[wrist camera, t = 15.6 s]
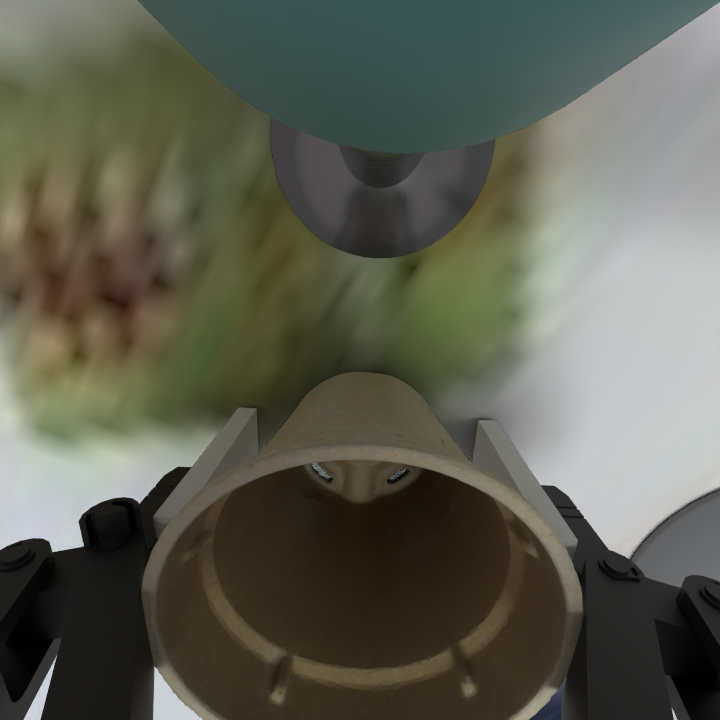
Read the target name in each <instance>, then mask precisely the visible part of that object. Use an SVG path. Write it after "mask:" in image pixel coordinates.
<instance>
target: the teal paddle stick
mask: <svg viewBox="0 0 720 720" xmlns="http://www.w3.org/2000/svg"><path fill="white" fill-rule="evenodd" d="M138 1H139V2H140V3H141V4H142V5H143V6H144V7H145V8H146V9H147V10H148V11H149V12H150V13H151V14H152V15H153V16H154V17H155V18H156V19H157V20H158V21H159V22H160V23H161V24H162V25H163V26H164V27H165V28H166V29H167V30H168V31H169V32H170V33H171V34H172V35H173V36H174V37H175V38H176V39H177V40H178V41H179V42H180V43H181V44H182V45H183V46H184V47H185V48H186V49H187V50H188V51H189V52H190V53H191V54H192V55H193V56H194V57H195V58H196V59H197V60H198V61H199V62H200V63H201V64H202V65H203V66H204V67H206V68H207V69H208V70H209V71H210V72H211V73H212V74H213V75H214V76H215V77H216V78H217V79H218V80H219V81H220V82H221V83H223V84H224V85H225V86H227V87H228V88H229V89H231V90H232V91H234V92H235V93H236V94H238V95H239V96H240V97H242V98H243V99H244V100H246V101H247V102H249V103H250V104H251V105H253V106H254V107H255V108H257V109H259V110H260V111H262V112H264V113H266V114H268V115H270V116H271V117H273V118H275V119H277V120H279V121H280V122H282V123H284V124H286V125H288V126H290V127H291V128H293V129H296V130H299V131H301V132H304V133H307V134H309V135H312V136H315V137H317V138H320V139H322V140H325V141H328V142H331V143H335V144H340V145H344V146H349V147H353V148H358V149H362V150H367V151H377V152H391V153H405V154H409V153H422V152H435V151H447V150H452V149H456V148H461V147H465V146H470V145H474V144H479V143H483V142H487V141H490V140H492V139H495V138H498V137H501V136H503V135H506V134H509V133H511V132H514V131H517V130H519V129H522V128H525V127H527V126H529V125H531V124H533V123H535V122H536V121H538V120H540V119H542V118H544V117H546V116H548V115H550V114H552V113H554V112H556V111H557V110H559V109H561V108H563V107H565V106H566V105H568V104H569V103H571V102H572V101H574V100H575V99H577V98H578V97H580V96H581V95H583V94H584V93H586V92H587V91H589V90H590V89H592V88H593V87H595V86H596V85H597V84H599V83H600V82H602V81H603V80H605V79H606V78H608V77H609V76H611V75H612V74H614V73H615V72H617V71H618V70H620V69H621V68H623V67H624V66H626V65H627V64H629V63H630V62H632V61H633V60H635V59H636V58H637V57H639V56H640V55H642V54H643V53H645V52H646V51H648V50H649V49H651V48H652V47H654V46H655V45H657V44H658V43H660V42H661V41H663V40H664V39H666V38H667V37H669V36H670V35H672V34H673V33H674V32H676V31H677V30H679V29H680V28H682V27H683V26H685V25H686V24H688V23H689V22H691V21H692V20H694V19H695V18H697V17H698V16H700V15H701V14H703V13H704V12H706V11H707V10H709V9H710V8H712V7H713V6H714V5H716V4H717V3H719V2H720V0H138Z"/></svg>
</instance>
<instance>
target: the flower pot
mask: <svg viewBox="0 0 720 720" xmlns="http://www.w3.org/2000/svg"><path fill="white" fill-rule="evenodd" d="M311 463H317V464H318V465H319V466H320V467H321V468H322V469H323V470H324V471H325V472H326V473H327V474H328V475H329V476H330V477H332V478H333V480H332V481H328V480H326V479H323V478H321V477H320V476H319V475H318V474H317V473H316V472H314V470H313V469H312V466H311ZM404 468H405V469H408V470H409V472H408V473H407V474H406V475H404V476H403V477H402V478H400V479H399V480H398V481H395V482H393V483H388V482H387V480H388V479H390V478H391V477H392V476H393V475H394V474H395V473H394V472H395V471H396V472H399V471H401V470H403V469H404ZM141 597H142V603H143V609H144V614H145V620H146V626H147V631H148V637H149V643H150V648H151V654H152V659H153V662H154V666H155V667H156V668H157V669H158V671H159V673H160V674H161V675H162V677H163V679H164V680H165V681H166V683H167V684H168V685H169V686H170V688H171V689H172V691H173V693H175V694H176V695H177V697H178V699H180V700H181V701H182V702H183V703H184V704H185V706H188V707H189V708H190V709H191V710H193V711H194V712H195V713H196V714H197V715H198V716H199V717H201V718H203V720H529V719H530V718H531V717H532V716H534V715H535V714H536V713H537V712H538V711H539V710H540V709H541V708H542V707H543V706H544V705H545V704H546V703H548V702H549V701H550V698H551V696H552V695H553V694H555V693H556V691H557V690H558V689H559V687H560V686H561V684H562V682H563V680H564V679H565V677H567V674H568V670H569V667H570V664H571V661H572V657H573V654H574V651H575V648H576V644H577V641H578V637H579V634H580V631H581V627H582V623H583V601H582V591H581V586H580V583H579V579H578V576H577V573H576V571H575V569H574V565H573V562H572V560H571V559H570V557H569V555H568V552H567V550H566V548H565V546H564V545H563V543H562V542H561V540H560V539H559V537H558V536H557V534H556V533H555V531H554V530H553V529H552V527H551V526H550V525H549V523H548V522H547V521H546V519H545V518H544V517H543V516H542V514H541V513H540V512H539V511H538V510H537V509H536V508H535V507H534V506H533V505H532V504H531V503H530V502H529V501H528V500H527V499H526V498H525V497H523V496H522V495H521V494H520V493H519V492H517V491H516V490H515V489H514V488H512V487H511V486H509V485H508V484H506V483H505V482H503V481H502V480H501V479H499V478H497V477H496V476H494V475H493V474H491V473H489V472H488V471H486V470H484V469H482V468H480V467H479V466H477V465H475V464H474V463H472V462H471V461H470V460H468V459H467V457H466V456H465V455H464V453H463V452H462V451H461V449H460V448H459V447H458V445H457V444H456V443H455V441H454V440H453V439H452V437H451V436H450V435H449V434H448V432H447V431H446V430H445V428H444V427H443V425H442V424H441V423H440V421H439V420H438V418H437V417H436V416H435V414H434V413H433V411H432V410H431V408H430V407H429V405H428V403H427V402H426V400H425V399H424V398H423V397H422V396H421V395H420V394H419V393H418V392H417V391H416V390H415V389H413V388H412V387H411V386H410V385H408V384H406V383H405V382H403V381H402V380H400V379H398V378H395V377H393V376H390V375H385V374H379V373H370V372H349V373H343V374H340V375H337V376H334V377H332V378H329V379H327V380H325V381H323V382H322V383H320V384H319V385H317V386H316V387H315V388H313V389H312V390H311V391H310V392H309V393H308V394H307V395H306V396H305V397H304V398H303V399H302V401H301V402H300V404H299V405H298V407H297V408H296V410H295V411H294V412H293V414H292V415H291V416H290V417H289V419H288V420H287V421H286V422H285V424H284V425H283V426H282V427H281V428H280V430H279V431H278V432H277V433H276V435H275V436H274V437H273V438H272V440H271V441H270V442H269V443H268V444H267V446H266V447H265V448H264V449H263V451H262V452H261V453H260V454H259V455H257V456H256V457H254V458H252V459H251V460H249V461H248V462H246V463H244V464H242V465H240V466H238V467H236V468H234V469H232V470H230V471H228V472H226V473H225V474H223V475H222V476H220V477H218V478H217V479H215V480H213V481H212V482H210V483H209V484H208V485H207V486H205V487H204V488H203V489H201V490H200V491H199V492H198V493H197V494H195V495H194V496H193V497H192V498H191V499H190V500H189V501H188V502H187V503H186V505H185V506H184V507H183V508H182V509H181V510H180V511H179V512H178V513H177V514H176V515H175V517H174V518H173V519H172V520H171V522H170V523H169V524H168V525H167V527H166V528H165V530H164V531H163V532H162V534H161V536H160V538H159V539H158V541H157V543H156V544H155V546H154V548H153V550H152V552H151V555H150V558H149V561H148V563H147V566H146V568H145V571H144V575H143V582H142V589H141Z"/></svg>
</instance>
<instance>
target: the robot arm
mask: <svg viewBox="0 0 720 720" xmlns="http://www.w3.org/2000/svg"><path fill="white" fill-rule="evenodd" d="M257 455H259V448H258V426H257V408H240V407H239V408H238V409H237V410H236V412H235V413H234V414H233V415H232V417H231V418H230V419H229V420H228V422H227V423H226V424H225V426H224V427H223V428H222V429H221V431H220V432H219V433H218V434H217V436H216V437H215V438H214V440H213V441H212V442H211V443H210V445H209V446H208V447H207V448H206V450H205V451H204V452H203V454H202V455H201V456H200V457H199V459H198V460H197V461H196V462H195V464H194V465H193V466H192V467H177V468H175V469H174V470H172V471H170V472H169V473H167V474H166V475H164V476H163V478H162V479H161V480H160V481H159V482H158V483H157V484H156V487H154V488H153V489H152V490H151V491H150V492H149V494H148V496H146V497H145V498H144V499H143V500H142V502H141V503H140V504H139V503H138V502H137V501H136V500H134V499H132V498H125V497H122V498H114V499H110V500H107V501H104V502H101V503H99V504H97V505H95V506H93V507H91V508H90V509H89V510H88V511H86V512H85V513H84V514H83V515H82V517H81V518H80V520H79V525H80V530H81V534H82V539H83V543H84V547H80V548H74V549H68V550H63V551H57V552H52V549H51V546H50V543H49V541H47V540H44V539H36V538H32V539H28V540H23V541H19V542H17V543H14V544H11V545H9V546H7V547H5V548H3V549H1V550H0V720H23V719H24V717H25V716H26V714H27V712H28V710H29V708H30V706H31V704H32V702H33V700H34V698H35V696H36V694H37V692H38V690H39V689H40V687H41V685H42V683H43V681H44V679H45V677H46V675H47V673H48V671H49V669H50V667H51V665H52V663H53V661H54V660H55V658H56V656H57V658H56V662H55V666H54V670H53V673H52V677H51V681H50V685H49V689H48V693H47V697H46V701H45V705H44V709H43V713H42V716H41V720H153V698H154V662H153V659H152V654H151V648H150V643H149V637H148V631H147V626H146V620H145V614H144V609H143V603H142V597H141V589H142V582H143V575H144V571H145V568H146V566H147V563H148V561H149V558H150V555H151V552H152V550H153V548H154V546H155V544H156V543H157V541H158V539H159V538H160V536H161V534H162V532H163V531H164V530H165V528H166V527H167V525H168V524H169V523H170V522H171V520H172V519H173V518H174V517H175V515H176V514H177V513H178V512H179V511H180V510H181V509H182V508H183V507H184V506H185V505H186V503H187V502H188V501H189V500H190V499H191V498H192V497H193V496H194V495H195V494H197V493H198V492H199V491H200V490H201V489H203V488H204V487H205V486H207V485H208V484H209V483H210V482H212V481H213V480H215V479H217V478H218V477H220V476H222V475H223V474H225V473H226V472H228V471H230V470H232V469H234V468H236V467H238V466H240V465H242V464H244V463H246V462H248V461H249V460H251V459H252V458H254V457H256V456H257ZM472 463H474V464H475V465H477V466H479V467H480V468H482V469H484V470H486V471H488V472H489V473H491V474H493V475H494V476H496V477H497V478H499V479H501V480H502V481H503V482H505V483H506V484H508V485H509V486H511V487H512V488H514V489H515V490H516V491H517V492H519V493H520V494H521V495H522V496H523V497H525V498H526V499H527V500H528V501H529V502H530V503H531V504H532V505H533V506H534V507H535V508H536V509H537V510H538V511H539V512H540V513H541V514H542V516H543V517H544V518H545V519H546V521H547V522H548V523H549V525H550V526H551V527H552V529H553V530H554V531H555V533H556V534H557V536H558V537H559V539H560V540H561V542H562V543H563V545H564V546H565V548H566V550H567V552H568V555H569V557H570V559H571V560H572V562H573V565H574V569H575V571H576V573H577V576H578V579H579V583H580V586H581V591H582V601H583V623H582V627H581V631H580V634H579V637H578V641H577V644H576V648H575V651H574V654H573V657H572V661H571V664H570V667H569V670H568V674H567V677H565V679H564V680H563V690H562V713H561V720H674V719H673V714H672V709H671V706H672V708H673V710H674V713H675V715H676V717H677V719H678V720H720V582H719V581H717V580H715V579H711V578H708V577H705V576H701V575H690V576H687V577H685V579H684V581H683V584H682V586H681V588H680V587H676V586H673V585H669V584H666V583H663V582H659V581H656V580H652V579H650V578H647V577H645V576H644V574H643V572H642V571H641V570H640V569H639V567H638V566H637V565H636V564H635V563H633V562H632V561H630V560H629V559H628V558H626V557H625V556H622V555H620V554H618V553H616V552H614V551H610V550H608V548H607V547H606V546H605V544H604V543H603V542H602V540H601V539H600V538H599V536H598V535H597V534H596V532H595V531H594V530H593V528H592V527H591V526H590V524H589V523H588V522H587V520H586V519H584V516H583V515H582V514H581V512H580V511H579V510H577V507H576V506H575V505H574V503H573V502H572V501H571V499H570V498H569V497H568V496H567V495H566V494H565V493H563V492H562V491H561V490H559V489H558V488H557V487H555V486H545V485H540V484H539V482H538V481H537V479H536V478H535V476H534V475H533V473H532V472H531V470H530V469H529V467H528V466H527V464H526V463H525V461H524V460H523V459H522V457H521V456H520V454H519V453H518V451H517V450H516V448H515V447H514V445H513V444H512V442H511V441H510V439H509V438H508V436H507V435H506V433H505V432H504V430H503V429H502V428H501V426H500V425H499V423H498V422H497V421H493V420H478V426H477V433H476V440H475V446H474V453H473V459H472ZM670 703H671V704H670Z"/></svg>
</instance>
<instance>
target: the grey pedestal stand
mask: <svg viewBox="0 0 720 720" xmlns="http://www.w3.org/2000/svg"><path fill="white" fill-rule="evenodd" d="M494 145H495V139H492V140H490V141H487V142H483V143H479V144H474V145H470V146H465V147H461V148H456V149H452V150H447V151H435V152H422V153H409V154H405V153H391V152H377V151H367V150H362V149H358V148H353V147H349V146H344V145H340V144H335V143H331V142H328V141H325V140H322V139H320V138H317V137H315V136H312V135H309V134H307V133H304V132H301V131H299V130H296V129H293V128H291V127H290V126H288V125H286V124H284V123H282V122H280V121H279V120H277V119H275V118H273V117H272V121H271V147H272V156H273V161H274V166H275V171H276V174H277V177H278V180H279V183H280V186H281V188H282V190H283V192H284V194H285V197H286V199H287V201H288V202H289V204H290V205H291V207H292V209H293V210H294V212H295V213H296V214H297V216H298V217H299V218H300V219H301V221H302V222H303V223H304V224H305V225H306V226H307V227H308V228H309V229H310V230H311V231H312V232H313V233H314V234H316V235H317V236H318V237H320V238H321V239H322V240H324V241H325V242H327V243H328V244H330V245H332V246H334V247H335V248H337V249H340V250H342V251H345V252H347V253H350V254H354V255H358V256H362V257H370V258H392V257H398V256H404V255H407V254H410V253H414V252H417V251H419V250H421V249H423V248H426V247H428V246H430V245H431V244H433V243H435V242H436V241H438V240H439V239H441V238H442V237H444V236H445V235H446V234H447V233H449V232H450V231H451V230H452V229H453V228H454V227H455V226H456V225H457V224H458V223H459V222H460V221H461V220H462V219H463V218H464V216H465V215H466V214H467V212H468V211H469V210H470V209H471V207H472V206H473V204H474V202H475V201H476V199H477V197H478V196H479V194H480V192H481V190H482V187H483V185H484V183H485V181H486V178H487V175H488V172H489V169H490V166H491V162H492V157H493V151H494Z"/></svg>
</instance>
